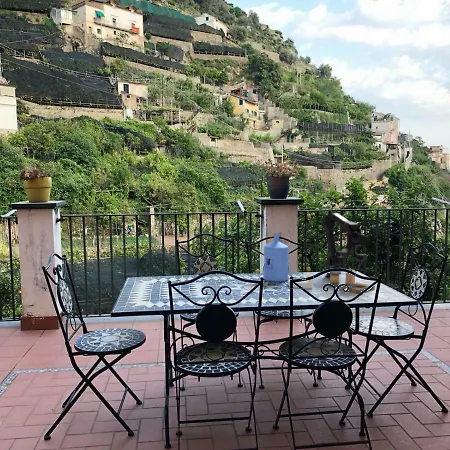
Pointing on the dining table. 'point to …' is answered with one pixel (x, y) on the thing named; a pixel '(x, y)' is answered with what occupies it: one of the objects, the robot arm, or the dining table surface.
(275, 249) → the water jug
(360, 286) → the notched board
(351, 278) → the salmon orange block
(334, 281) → the bobbin
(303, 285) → the bracket
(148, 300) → the dining table surface
